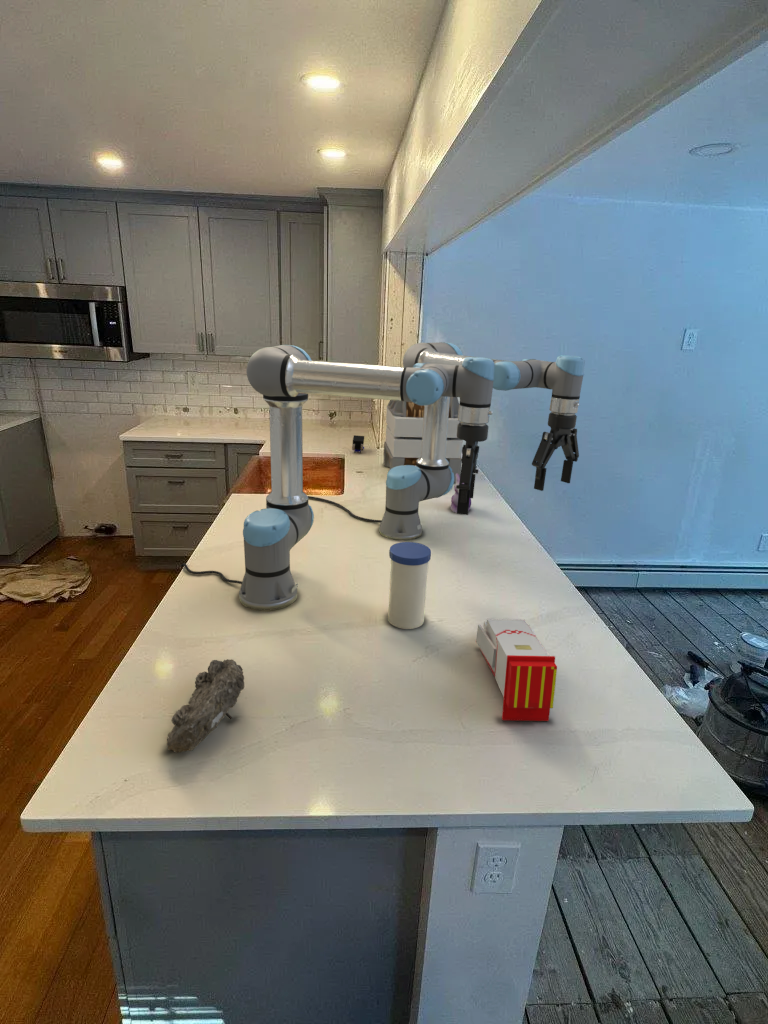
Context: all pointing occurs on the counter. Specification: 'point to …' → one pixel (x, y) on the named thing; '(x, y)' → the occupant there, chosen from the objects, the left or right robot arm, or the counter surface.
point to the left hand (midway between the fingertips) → (465, 505)
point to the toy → (519, 668)
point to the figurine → (455, 497)
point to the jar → (407, 595)
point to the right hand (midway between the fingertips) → (552, 485)
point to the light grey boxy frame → (417, 435)
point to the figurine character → (358, 443)
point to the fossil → (206, 705)
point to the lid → (410, 553)
